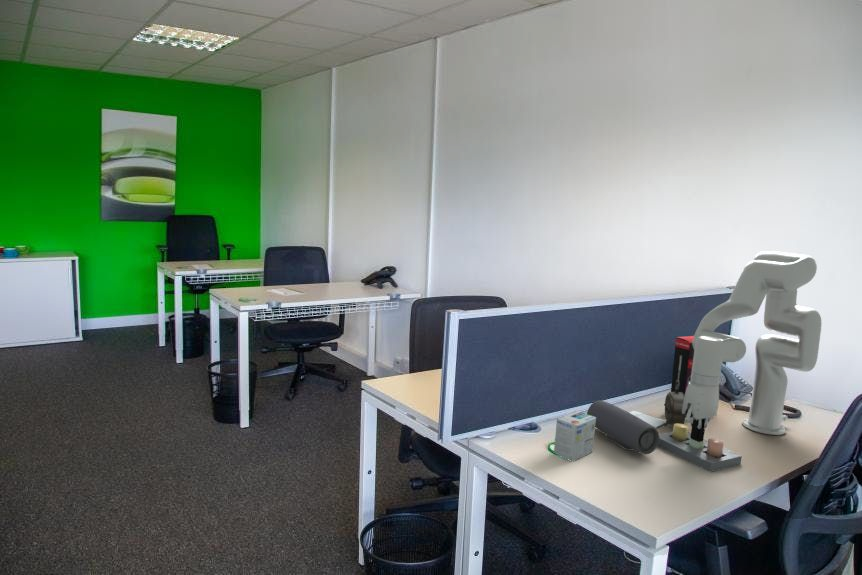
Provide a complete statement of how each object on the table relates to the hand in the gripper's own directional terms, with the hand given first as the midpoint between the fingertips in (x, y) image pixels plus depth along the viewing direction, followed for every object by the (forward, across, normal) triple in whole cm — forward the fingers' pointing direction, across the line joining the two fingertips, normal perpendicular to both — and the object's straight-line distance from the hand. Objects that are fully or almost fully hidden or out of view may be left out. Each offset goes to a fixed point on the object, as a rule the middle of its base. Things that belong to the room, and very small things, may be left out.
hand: (696, 439), depth 175 cm
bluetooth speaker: (+5, +16, -14) cm, 22 cm away
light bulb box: (+5, +35, -13) cm, 37 cm away
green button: (+4, 0, 0) cm, 4 cm away
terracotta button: (+2, 0, +6) cm, 6 cm away
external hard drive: (+5, -6, -25) cm, 26 cm away
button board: (+4, 0, 0) cm, 4 cm away
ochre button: (+2, 0, -6) cm, 6 cm away
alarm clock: (+4, -10, -17) cm, 20 cm away
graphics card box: (+4, -29, -25) cm, 39 cm away
